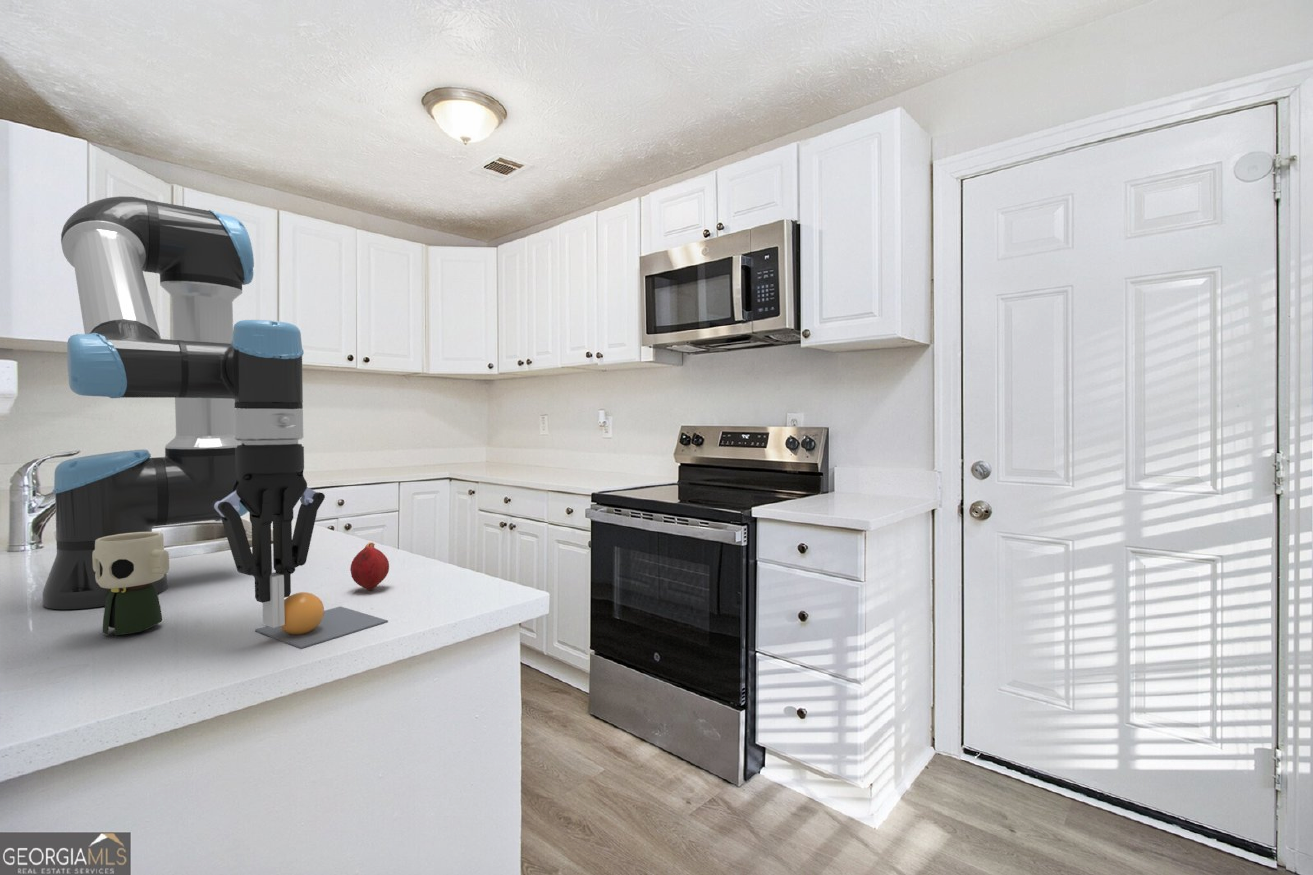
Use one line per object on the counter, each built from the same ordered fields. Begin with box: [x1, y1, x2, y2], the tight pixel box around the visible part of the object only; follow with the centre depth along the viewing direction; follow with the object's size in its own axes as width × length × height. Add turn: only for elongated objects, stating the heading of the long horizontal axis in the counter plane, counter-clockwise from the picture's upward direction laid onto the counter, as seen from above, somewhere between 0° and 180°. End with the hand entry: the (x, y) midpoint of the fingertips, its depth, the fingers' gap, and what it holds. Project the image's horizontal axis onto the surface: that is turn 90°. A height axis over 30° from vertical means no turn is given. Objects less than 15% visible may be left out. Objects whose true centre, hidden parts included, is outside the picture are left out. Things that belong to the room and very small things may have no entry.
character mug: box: [92, 531, 170, 636], centre depth 85 cm, size 11×7×13 cm, turn 85°
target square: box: [254, 605, 389, 649], centre depth 87 cm, size 12×12×1 cm
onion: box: [350, 541, 390, 591], centre depth 104 cm, size 6×6×8 cm
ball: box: [280, 591, 325, 635], centre depth 84 cm, size 6×6×6 cm
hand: (273, 624), depth 81 cm, fingers closed
